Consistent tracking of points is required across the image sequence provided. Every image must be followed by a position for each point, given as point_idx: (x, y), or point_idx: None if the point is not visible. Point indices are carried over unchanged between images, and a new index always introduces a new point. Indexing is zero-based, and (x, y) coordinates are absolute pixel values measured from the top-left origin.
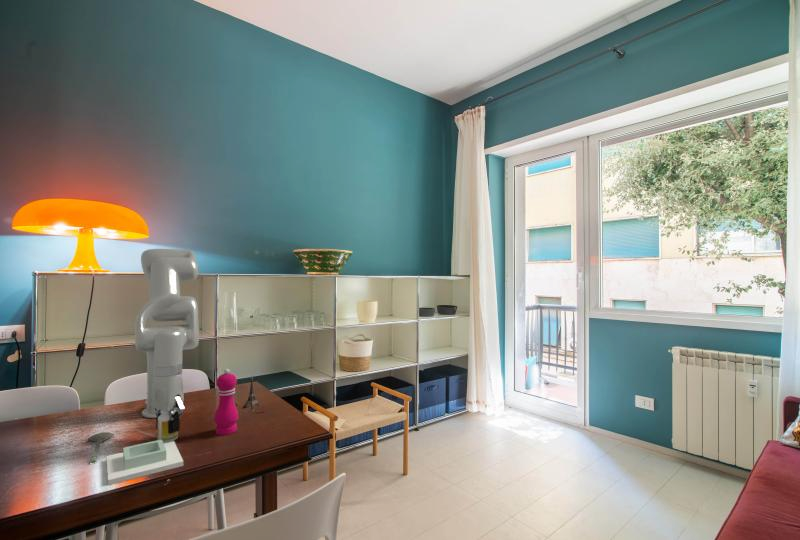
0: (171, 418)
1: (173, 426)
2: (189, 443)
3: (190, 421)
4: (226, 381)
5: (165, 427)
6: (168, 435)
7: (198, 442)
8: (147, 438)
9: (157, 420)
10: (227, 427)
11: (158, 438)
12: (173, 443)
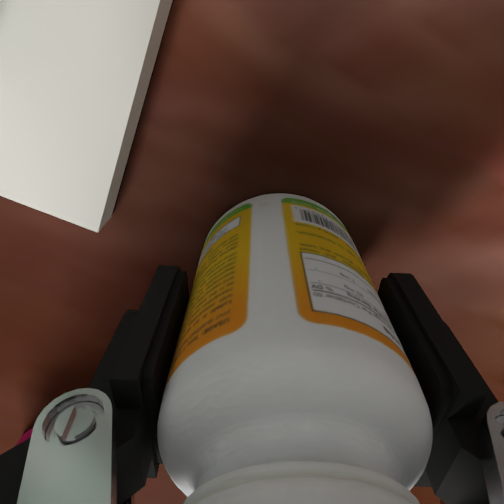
0: (60, 423)
1: (113, 338)
2: (54, 285)
3: None
4: None
5: (207, 294)
6: (202, 259)
7: (25, 319)
8: (472, 196)
9: (433, 347)
10: None
11: (289, 203)
12: (42, 199)
